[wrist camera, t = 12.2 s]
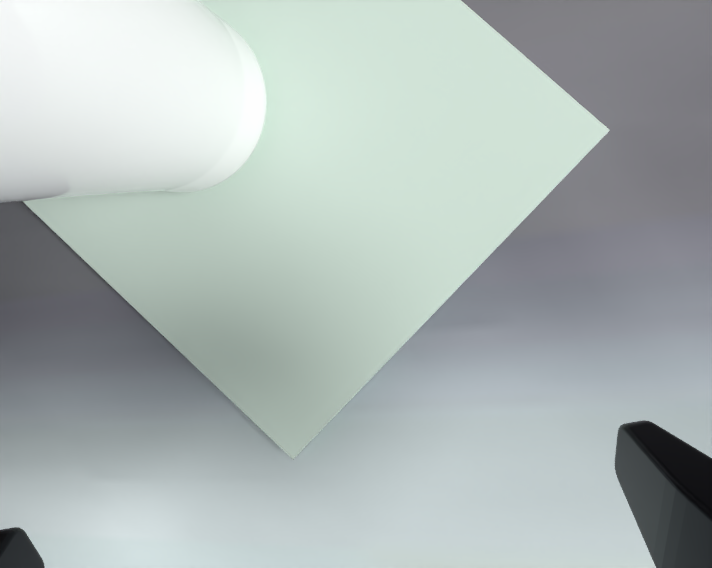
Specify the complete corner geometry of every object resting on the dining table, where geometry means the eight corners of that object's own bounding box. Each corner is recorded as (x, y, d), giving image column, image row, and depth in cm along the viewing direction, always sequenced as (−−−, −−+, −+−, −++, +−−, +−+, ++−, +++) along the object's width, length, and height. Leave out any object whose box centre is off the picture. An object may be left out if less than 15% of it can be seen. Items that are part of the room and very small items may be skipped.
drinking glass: (282, 231, 19) (-472, 285, 4) (87, 200, 20) (-1020, 156, 5) (310, 0, 18) (-542, -1038, 3) (104, -16, 19) (-1190, -800, 4)
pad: (605, 131, 17) (609, 130, 16) (298, 452, 21) (292, 459, 20) (96, -313, 18) (83, -329, 17) (-101, 71, 22) (-117, 68, 21)
